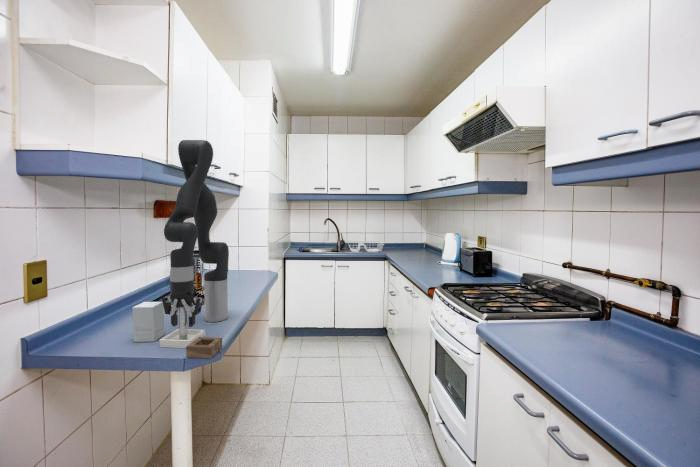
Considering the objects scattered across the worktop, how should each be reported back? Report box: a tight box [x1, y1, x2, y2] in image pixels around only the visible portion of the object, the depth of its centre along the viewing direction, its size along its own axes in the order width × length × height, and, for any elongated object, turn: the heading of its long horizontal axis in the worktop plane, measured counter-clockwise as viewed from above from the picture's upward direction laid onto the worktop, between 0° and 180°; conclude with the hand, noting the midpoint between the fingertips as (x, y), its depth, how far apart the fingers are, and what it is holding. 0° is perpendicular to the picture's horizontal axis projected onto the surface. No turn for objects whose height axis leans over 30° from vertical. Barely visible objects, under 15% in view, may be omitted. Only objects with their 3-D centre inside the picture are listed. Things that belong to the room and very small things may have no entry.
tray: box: [158, 328, 206, 349], centre depth 115 cm, size 11×11×2 cm
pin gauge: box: [178, 307, 189, 340], centre depth 115 cm, size 3×3×12 cm
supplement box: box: [131, 301, 165, 343], centre depth 118 cm, size 7×7×13 cm
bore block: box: [185, 336, 223, 359], centre depth 107 cm, size 8×8×4 cm
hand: (183, 325), depth 115 cm, fingers open, 5 cm apart
